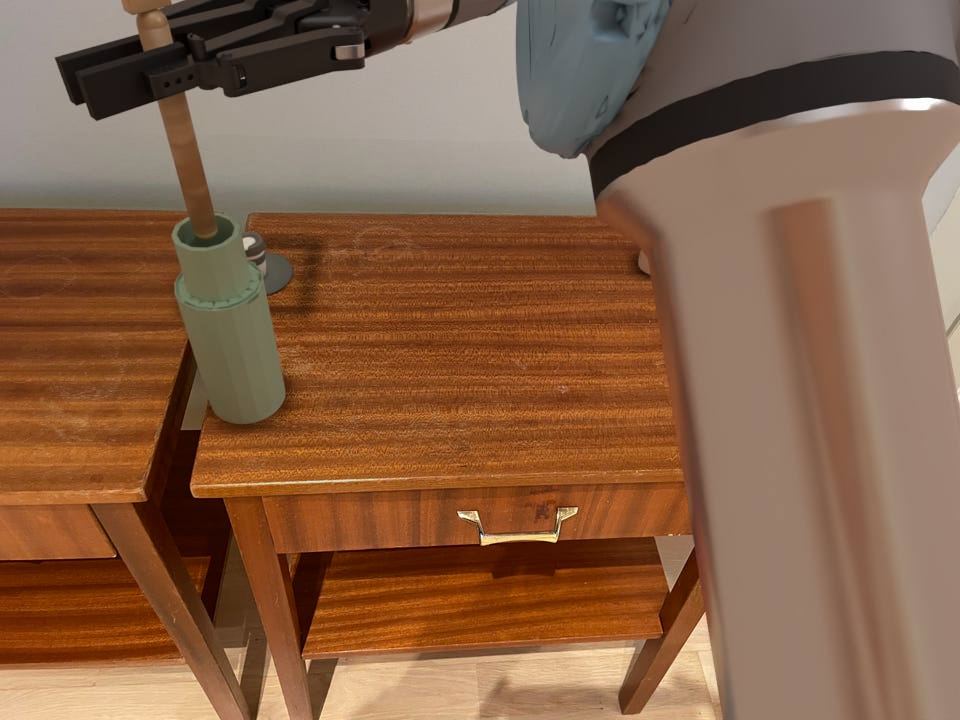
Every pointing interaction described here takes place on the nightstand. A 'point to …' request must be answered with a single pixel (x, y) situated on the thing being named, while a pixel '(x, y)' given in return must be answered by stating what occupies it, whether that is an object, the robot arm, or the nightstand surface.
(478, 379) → the nightstand surface
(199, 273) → the bottle
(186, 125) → the wooden stick
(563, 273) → the nightstand surface
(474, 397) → the nightstand surface
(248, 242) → the coffee cup
